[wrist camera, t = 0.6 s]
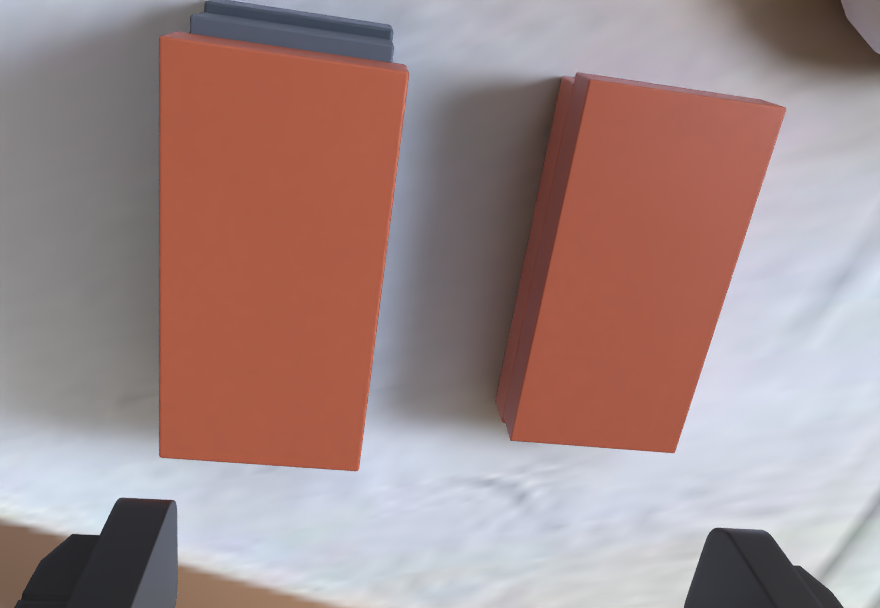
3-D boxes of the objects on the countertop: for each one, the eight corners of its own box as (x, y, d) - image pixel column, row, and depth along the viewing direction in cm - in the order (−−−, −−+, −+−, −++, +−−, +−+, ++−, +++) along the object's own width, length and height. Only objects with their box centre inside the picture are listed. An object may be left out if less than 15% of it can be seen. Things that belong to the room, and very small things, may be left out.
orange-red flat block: (563, 65, 24) (589, 78, 21) (739, 92, 25) (787, 107, 22) (494, 401, 29) (508, 448, 26) (643, 413, 30) (672, 460, 27)
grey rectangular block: (215, -2, 23) (189, 2, 19) (392, 25, 23) (395, 33, 20) (204, 400, 28) (183, 456, 25) (347, 412, 29) (344, 468, 26)
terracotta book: (173, 30, 20) (158, 35, 18) (406, 64, 21) (409, 71, 19) (171, 429, 25) (158, 458, 23) (359, 443, 25) (358, 472, 24)
